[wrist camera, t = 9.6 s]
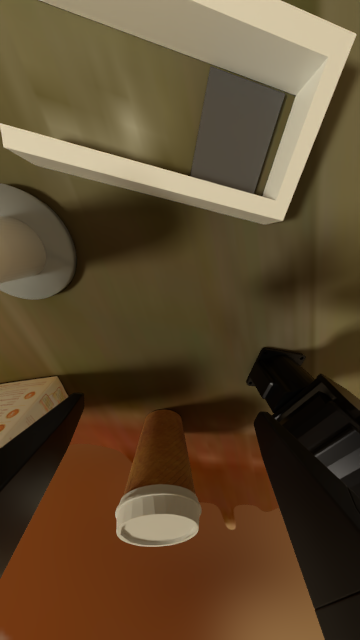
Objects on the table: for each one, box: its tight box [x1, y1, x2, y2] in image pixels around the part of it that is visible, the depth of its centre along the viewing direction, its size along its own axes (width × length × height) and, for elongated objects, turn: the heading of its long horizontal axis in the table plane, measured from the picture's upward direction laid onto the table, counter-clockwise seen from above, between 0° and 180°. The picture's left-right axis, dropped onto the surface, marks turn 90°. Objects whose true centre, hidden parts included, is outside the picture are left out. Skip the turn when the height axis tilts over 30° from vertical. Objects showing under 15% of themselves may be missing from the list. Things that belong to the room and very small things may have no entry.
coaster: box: [0, 184, 77, 299], centre depth 16 cm, size 10×10×1 cm
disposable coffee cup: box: [115, 409, 201, 547], centre depth 23 cm, size 10×10×12 cm
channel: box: [0, 0, 356, 225], centre depth 12 cm, size 21×10×3 cm, turn 78°
